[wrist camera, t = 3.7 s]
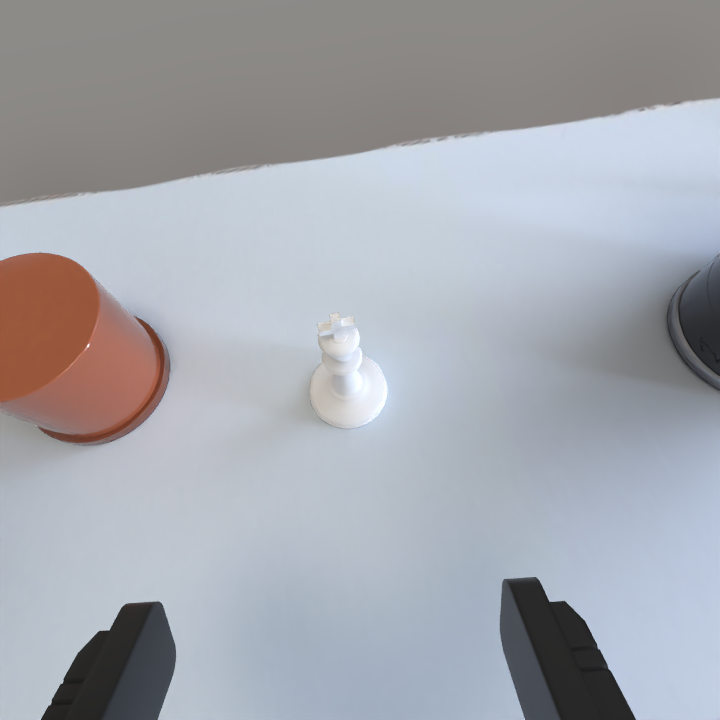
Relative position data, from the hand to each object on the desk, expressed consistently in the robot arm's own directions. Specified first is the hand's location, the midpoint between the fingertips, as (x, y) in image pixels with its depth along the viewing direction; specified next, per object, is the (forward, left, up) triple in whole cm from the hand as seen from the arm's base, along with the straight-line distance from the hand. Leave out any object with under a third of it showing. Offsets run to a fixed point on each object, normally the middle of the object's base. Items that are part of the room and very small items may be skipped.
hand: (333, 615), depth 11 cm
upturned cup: (+4, -20, -16) cm, 26 cm away
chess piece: (-7, -8, -16) cm, 20 cm away
